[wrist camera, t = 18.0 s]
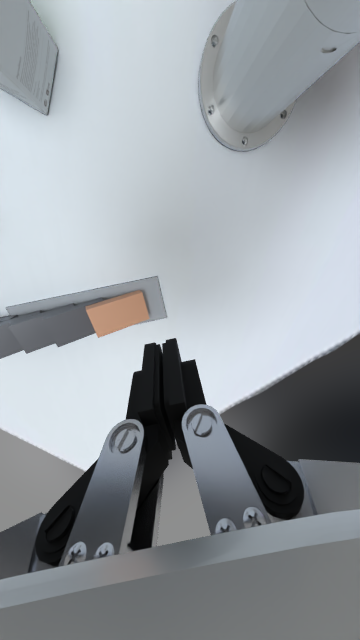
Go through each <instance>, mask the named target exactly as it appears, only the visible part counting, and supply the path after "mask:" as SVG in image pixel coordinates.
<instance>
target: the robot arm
mask: <svg viewBox="0 0 360 640" xmlns="http://www.w3.org/2000/svg"><path fill="white" fill-rule="evenodd" d="M359 42H360V0H237V1H235V2H233V3H232V4H231V5H230V6H229V7H228V8H227V9H226V10H225V11H224V12H223V13H222V14H221V15H220V17H219V18H218V20H217V21H216V23H215V24H214V26H213V28H212V30H211V32H210V34H209V36H208V39H207V42H206V45H205V48H204V51H203V55H202V60H201V64H200V71H199V81H198V82H199V99H200V105H201V110H202V113H203V116H204V119H205V122H206V124H207V125H208V127H209V129H210V131H211V132H212V134H213V135H214V136H215V138H216V139H217V140H218V141H219V142H221V143H222V144H223V145H224V146H226V147H228V148H230V149H233V150H237V151H249V150H252V149H256V148H258V147H260V146H262V145H263V144H265V143H266V142H267V141H269V140H270V139H272V138H273V137H274V136H275V135H276V134H277V133H278V132H279V130H280V129H281V128H282V126H283V125H284V124H285V122H286V121H287V119H288V117H289V115H290V113H291V112H292V109H293V107H294V104H295V102H296V99H297V98H298V97H299V96H300V95H301V94H302V93H303V92H305V91H306V90H307V89H308V88H309V87H310V86H311V85H312V84H313V83H315V82H316V81H317V80H318V79H319V78H320V77H321V76H322V75H323V74H324V73H326V72H327V71H328V70H329V69H330V68H331V67H332V66H333V65H334V64H336V63H337V62H338V61H339V60H340V59H341V58H342V57H343V56H344V55H346V54H347V53H348V52H349V51H350V50H351V49H352V48H353V47H354V46H356V45H357V44H358V43H359ZM212 45H214V47H213V46H212ZM209 111H210V112H211V115H210V114H209V113H208V112H209ZM280 116H281V117H280ZM242 141H243V142H244V145H243V144H242ZM162 347H163V353H162V350H161V347H160V344H158V345H156V343H150V344H145V347H144V356H143V364H142V371H137V372H134V374H133V379H132V385H131V391H130V397H129V403H128V409H127V415H126V420H124V421H122V422H120V423H118V424H117V425H116V426H114V427H113V428H112V430H111V431H110V432H109V434H108V436H107V438H106V440H105V443H104V445H103V448H102V451H101V453H100V456H99V458H98V460H97V461H96V462H95V463H94V464H93V465H92V466H91V467H90V468H89V469H88V470H87V471H86V472H85V473H84V474H83V475H82V476H81V477H80V478H79V479H78V480H77V481H76V482H75V484H74V485H73V486H72V487H71V488H70V489H69V490H68V491H67V492H66V493H65V494H64V495H63V496H62V497H61V498H60V499H59V500H58V501H57V502H56V504H54V506H53V507H52V508H51V509H50V511H49V512H48V513H46V514H43V513H39V514H37V515H35V516H33V517H31V518H29V519H27V520H25V521H22V522H20V523H18V524H16V525H14V526H12V527H10V528H9V529H6V530H4V531H2V532H0V640H360V463H348V462H333V461H318V460H302V459H299V461H298V462H293V461H286V460H285V459H284V458H282V457H281V456H279V455H277V454H275V453H274V452H272V451H270V450H269V449H267V448H265V447H263V446H262V445H260V444H258V443H257V442H255V441H253V440H251V439H250V438H248V437H246V436H245V435H243V434H241V433H239V432H238V431H236V430H234V429H233V428H230V427H229V426H227V425H226V424H224V423H223V421H222V419H221V417H220V415H219V413H218V412H217V411H216V410H215V409H214V408H213V407H211V406H208V405H206V402H205V398H204V394H203V390H202V386H201V382H200V378H199V374H198V370H197V366H196V362H195V359H194V360H190V361H185V362H181V357H180V353H179V349H178V345H177V340H176V338H174V339H169V340H166V343H163V344H162ZM175 439H176V442H177V445H178V448H179V449H180V451H181V454H182V457H183V460H184V462H185V463H186V464H187V465H189V466H190V467H191V468H192V469H193V471H194V474H195V478H196V482H197V485H198V489H199V493H200V496H201V500H202V504H203V508H204V511H205V515H206V519H207V523H208V526H209V530H210V533H211V536H206V537H201V538H196V539H192V540H186V541H181V542H177V543H172V544H167V545H162V546H157V538H158V528H159V527H158V526H159V518H160V508H161V499H162V489H163V479H164V478H163V477H164V474H163V473H164V470H165V469H166V468H167V466H168V465H169V464H168V460H169V459H172V450H175V449H176V445H175Z"/></svg>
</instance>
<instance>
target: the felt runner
mask: <svg viewBox="0 0 360 640" xmlns="http://www.w3.org/2000/svg"><path fill="white" fill-rule="evenodd" d="M137 290H140V291H141V292H142V293H143V297H144V300H145V304H146V307H147V311H148V314H149V318H150V319H148V320H145V321H142V322H140V323H145V322H149V321H154V320H159V319H164V318H167V316H166V312H165V307H164V303H163V299H162V295H161V290H160V286H159V282H158V277H157V276H156V277H151V278H146V279H141V280H136V281H132V282H127V283H122V284H117V285H112V286H107V287H102V288H97V289H93V290H88V291H83V292H78V293H73V294H68V295H63V296H58V297H54V298H49V299H44V300H39V301H34V302H29V303H24V304H20V305H15V306H10V307H6V310H7V311H8V313H9V314H10V316H12V315H18V317H19V316H23V315H26V314H29V313H32V312H35V311H39V310H41V312H42V313H43V312H46V311H49V310H53V309H56V308H59V307H62V306H66V305H69V304H72V303H73V304H74V306H76V305H79V304H82V303H85V302H89V301H92V300H95V299H98V298H101V297H102V298H103V300H104V301H105V300H108V299H111V298H114V297H118V296H121V295H124V294H127V293H131V292H134V291H137ZM140 323H137V324H140ZM134 325H135V324H134Z"/></svg>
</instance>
